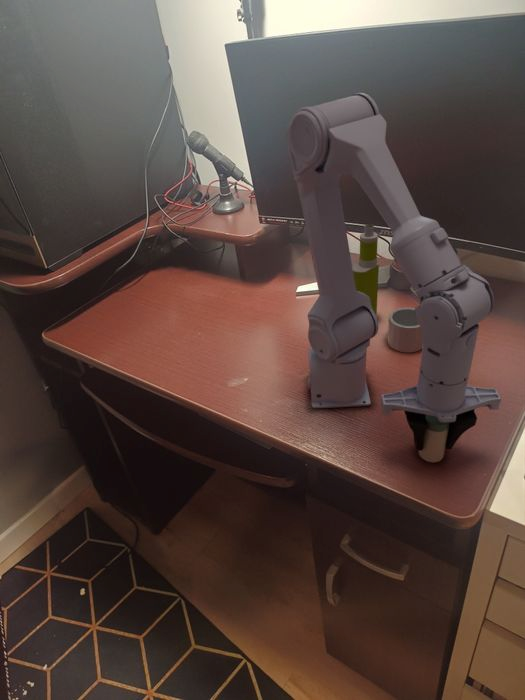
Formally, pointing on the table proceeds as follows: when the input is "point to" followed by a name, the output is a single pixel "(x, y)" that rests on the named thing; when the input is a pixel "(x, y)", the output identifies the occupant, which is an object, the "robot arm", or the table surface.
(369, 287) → the vape
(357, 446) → the table surface
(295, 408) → the table surface
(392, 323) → the light grey round cup
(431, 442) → the cylinder
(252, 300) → the table surface
